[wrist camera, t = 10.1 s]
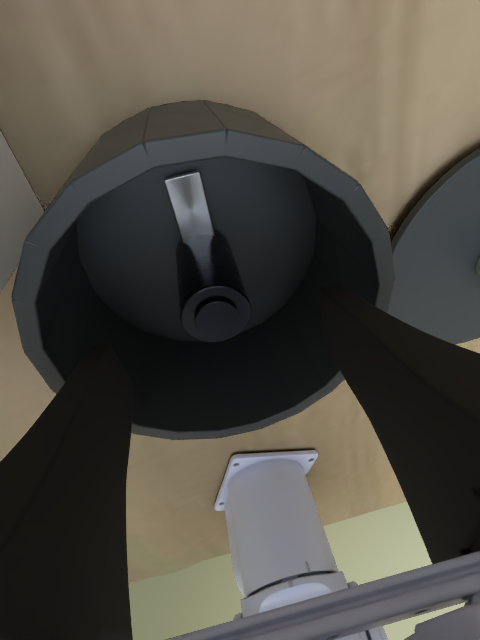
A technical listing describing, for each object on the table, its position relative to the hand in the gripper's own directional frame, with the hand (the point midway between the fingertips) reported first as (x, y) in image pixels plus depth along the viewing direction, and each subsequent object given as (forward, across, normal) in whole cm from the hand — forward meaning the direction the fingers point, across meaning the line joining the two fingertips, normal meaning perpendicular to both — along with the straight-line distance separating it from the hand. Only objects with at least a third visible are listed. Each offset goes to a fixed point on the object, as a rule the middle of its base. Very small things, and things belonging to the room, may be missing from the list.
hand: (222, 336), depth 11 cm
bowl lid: (+6, -16, +4) cm, 17 cm away
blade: (+6, 0, 0) cm, 6 cm away
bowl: (+6, 0, 0) cm, 6 cm away
